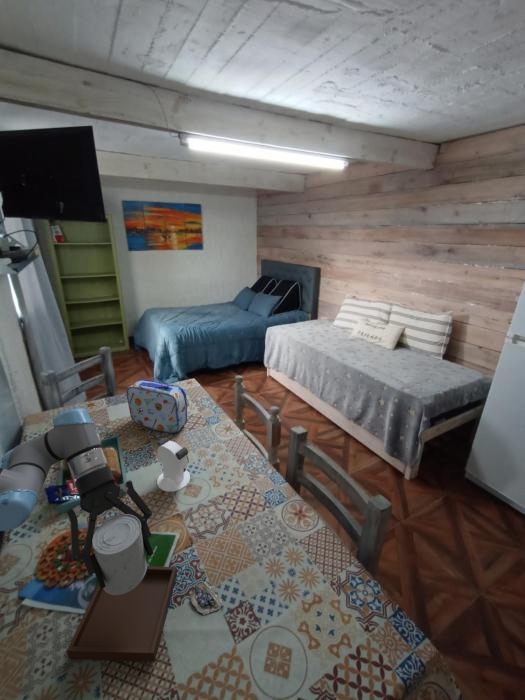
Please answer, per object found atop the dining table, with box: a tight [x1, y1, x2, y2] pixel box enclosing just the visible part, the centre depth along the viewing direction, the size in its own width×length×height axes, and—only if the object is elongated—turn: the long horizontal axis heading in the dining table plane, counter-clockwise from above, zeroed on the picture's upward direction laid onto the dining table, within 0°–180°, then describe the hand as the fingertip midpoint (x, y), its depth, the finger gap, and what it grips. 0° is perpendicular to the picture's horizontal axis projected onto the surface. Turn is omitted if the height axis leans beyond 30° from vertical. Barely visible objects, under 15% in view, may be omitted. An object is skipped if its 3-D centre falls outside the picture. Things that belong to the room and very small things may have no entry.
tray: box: [66, 565, 178, 663], centre depth 73 cm, size 18×18×3 cm
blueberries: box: [189, 581, 223, 616], centre depth 76 cm, size 7×8×2 cm
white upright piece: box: [156, 436, 191, 493], centre depth 110 cm, size 12×11×15 cm
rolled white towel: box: [92, 513, 148, 595], centre depth 69 cm, size 10×10×12 cm
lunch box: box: [126, 378, 190, 434], centre depth 139 cm, size 28×10×22 cm, turn 73°
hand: (127, 570), depth 68 cm, fingers closed on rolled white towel, 9 cm apart
